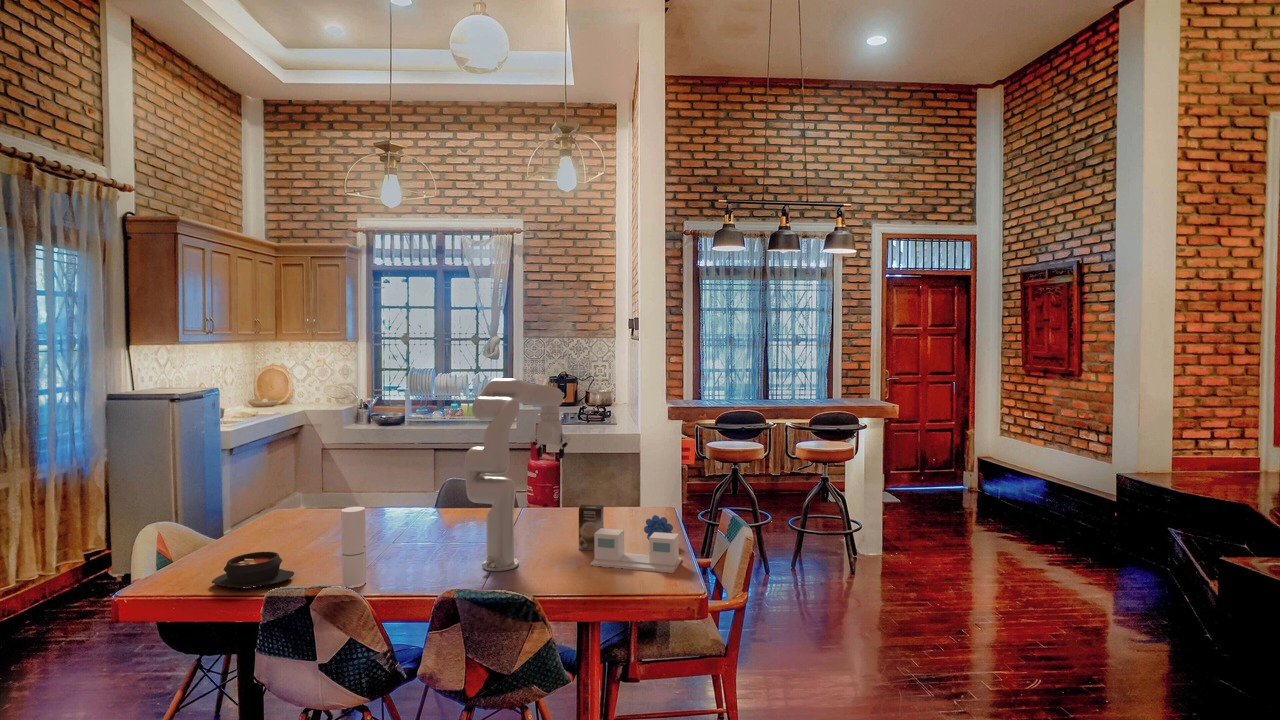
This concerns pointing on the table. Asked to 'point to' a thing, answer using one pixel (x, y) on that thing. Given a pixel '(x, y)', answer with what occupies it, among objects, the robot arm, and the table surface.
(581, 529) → the coffee box
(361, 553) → the cylindrical container
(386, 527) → the table surface
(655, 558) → the rail board
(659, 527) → the grapes
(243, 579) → the casserole
